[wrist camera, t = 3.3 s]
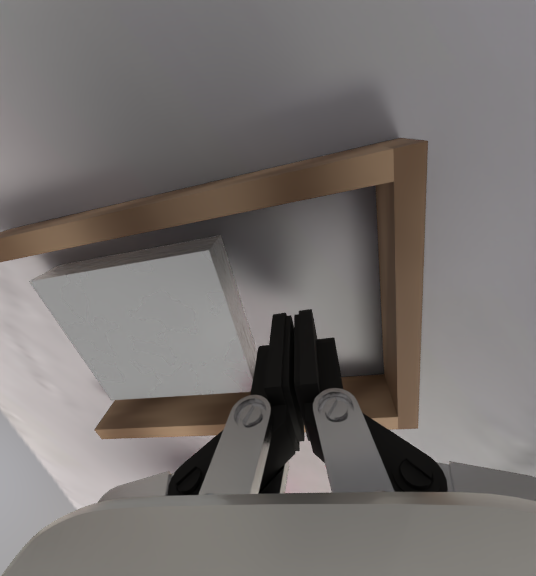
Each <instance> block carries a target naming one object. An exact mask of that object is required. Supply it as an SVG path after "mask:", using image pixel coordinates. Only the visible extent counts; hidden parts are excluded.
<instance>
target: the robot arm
mask: <svg viewBox="0 0 536 576" xmlns="http://www.w3.org/2000/svg"><path fill="white" fill-rule="evenodd" d="M304 426H305V430H306V434H307V438H308V441H310V442H311V446H312V450H313V453H314V454H315V455H316V456H318V457H319V458H320V459H321V460H322V461H323V462H324V463H325V465H326V469H327V474H328V478H329V482H330V486H331V491H332V493H285V488H286V482H287V476H288V470H289V461H288V460H289V459H290V458H291V457H292V456H293V455H294V454H295V451H299V441H304ZM2 576H536V477H533V476H528V475H523V474H517V473H512V472H506V471H501V470H495V469H490V468H484V467H478V466H473V465H467V464H462V463H456V462H451V461H449V465H448V464H442V463H437V462H435V461H434V460H433V459H432V458H431V457H429V456H428V455H426V454H425V453H423V452H422V451H420V450H419V449H417V448H416V447H414V446H413V445H411V444H410V443H408V442H407V441H405V440H404V439H402V438H400V437H399V436H397V435H396V434H394V433H393V432H391V431H390V430H388V429H387V428H385V427H384V426H382V425H381V424H379V423H378V422H376V421H375V420H373V419H371V418H370V417H368V416H367V415H365V414H364V413H362V411H361V409H360V406H359V404H358V401H357V400H356V398H355V397H354V396H353V395H352V394H351V393H350V392H348V391H346V390H344V389H343V384H342V378H341V373H340V367H339V362H338V356H337V350H336V345H335V339H334V338H326V339H317V335H316V330H315V324H314V319H313V313H312V309H310V310H302V311H299V314H298V315H295V318H294V325H293V321H292V317H291V316H287V315H286V313H281V314H274V315H273V319H272V327H271V335H270V343H269V345H266V346H259V348H258V352H257V358H256V364H255V370H254V376H253V382H252V387H251V393H250V395H249V396H246V397H244V398H242V399H241V400H239V401H238V402H237V403H236V404H235V405H234V406H233V408H232V410H231V412H230V414H229V417H228V420H227V422H226V425H225V427H224V430H222V431H221V432H220V433H219V434H218V435H217V436H215V437H214V438H213V439H212V440H211V441H209V442H208V443H207V444H206V445H205V446H204V447H202V448H201V449H200V450H199V451H198V452H197V453H195V454H194V455H193V456H192V457H191V458H189V459H188V460H187V461H186V462H185V463H184V464H182V465H181V466H180V467H179V468H178V469H177V470H176V472H175V473H172V474H171V473H170V472H169V471H168V472H164V473H161V474H157V475H154V476H151V477H147V478H144V479H140V480H137V481H133V482H130V483H127V484H123V485H120V486H117V487H115V488H113V489H111V490H109V491H108V492H107V493H106V494H104V495H103V496H102V498H101V499H100V500H99V501H98V503H95V504H92V505H88V506H86V507H83V508H80V509H78V510H76V511H74V512H71V513H69V514H67V515H65V516H63V517H61V518H59V519H57V520H56V521H54V522H52V523H51V524H49V525H48V526H47V527H45V528H43V529H42V530H41V531H40V532H38V533H37V534H36V535H35V536H33V537H32V539H31V540H30V541H29V542H28V543H27V544H26V545H25V546H24V547H23V548H22V550H21V551H20V552H19V553H18V554H17V555H16V557H15V558H14V559H13V561H12V562H11V563H10V565H9V566H8V567H7V569H6V570H5V571H4V573H3V574H2Z"/></svg>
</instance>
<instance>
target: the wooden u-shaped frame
mask: <svg viewBox="0 0 536 576" xmlns="http://www.w3.org/2000/svg"><path fill="white" fill-rule="evenodd" d="M427 151H428V141H424V140H415V139H405V138H397V139H393V140H389V141H385V142H380V143H376V144H372V145H367V146H363V147H359V148H355V149H350V150H346V151H342V152H338V153H333V154H329V155H325V156H320V157H316V158H312V159H308V160H303V161H299V162H295V163H291V164H286V165H282V166H278V167H273V168H269V169H265V170H261V171H256V172H252V173H248V174H244V175H239V176H235V177H231V178H226V179H222V180H218V181H214V182H209V183H205V184H201V185H197V186H192V187H188V188H184V189H179V190H175V191H171V192H167V193H162V194H158V195H154V196H150V197H145V198H141V199H137V200H132V201H128V202H124V203H120V204H115V205H111V206H107V207H103V208H98V209H94V210H90V211H85V212H81V213H77V214H73V215H68V216H64V217H60V218H56V219H51V220H47V221H43V222H38V223H34V224H30V225H26V226H21V227H17V228H13V229H9V230H6V231H3V232H0V262H3V261H8V260H13V259H18V258H23V257H28V256H33V255H38V254H42V253H47V252H52V251H57V250H62V249H67V248H72V247H77V246H81V245H86V244H91V243H96V242H101V241H106V240H111V239H116V238H121V237H125V236H130V235H135V234H140V233H145V232H150V231H155V230H160V229H164V228H169V227H174V226H179V225H184V224H189V223H194V222H199V221H203V220H208V219H213V218H218V217H223V216H228V215H233V214H238V213H243V212H247V211H252V210H257V209H262V208H267V207H272V206H277V205H282V204H286V203H291V202H296V201H301V200H306V199H311V198H316V197H321V196H326V195H330V194H335V193H340V192H345V191H350V190H355V189H360V188H365V187H369V186H374V185H375V187H376V208H377V230H378V252H379V274H380V296H381V317H382V339H383V361H384V374H380V375H366V376H352V377H341V378H342V384H343V389H344V390H346V391H348V392H350V393H351V394H352V395H353V396H354V397H355V398H356V400H357V401H358V404H359V406H360V409H361V411H362V413H364V414H365V415H367V416H368V417H370V418H371V419H373V420H375V421H376V422H378V423H379V424H381V425H382V426H384V427H385V428H387V429H416V428H418V412H419V383H420V354H421V325H422V296H423V267H424V238H425V209H426V180H427ZM250 393H251V392H239V393H223V394H206V395H190V396H173V397H157V398H140V399H124V400H115V401H114V402H113V404H112V405H111V407H110V408H109V410H108V411H107V412H106V414H105V415H104V417H103V418H102V420H101V421H100V422H99V424H98V425H97V427H96V428H95V431H96V433H97V434H98V435H99V436H100V438H101V439H119V438H149V437H178V436H208V435H218V434H219V433H220V432H221V431H222V430H224V427H225V425H226V422H227V420H228V417H229V414H230V412H231V410H232V408H233V406H234V405H235V404H236V403H237V402H238V401H239V400H241V399H242V398H244V397H246V396H249V395H250ZM304 432H306V430H305V426H304Z"/></svg>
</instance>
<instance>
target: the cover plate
mask: <svg viewBox="0 0 536 576" xmlns="http://www.w3.org/2000/svg"><path fill="white" fill-rule="evenodd" d="M29 282H30V283H31V285H32V286H33V288H34V289H35V291H36V292H37V294H38V295H39V296H40V298H41V299H42V301H43V302H44V304H45V305H46V307H47V308H48V309H49V311H50V312H51V314H52V315H53V317H54V318H55V320H56V321H57V322H58V324H59V325H60V327H61V328H62V330H63V331H64V333H65V334H66V335H67V337H68V338H69V340H70V341H71V343H72V344H73V346H74V347H75V348H76V350H77V351H78V353H79V354H80V356H81V357H82V359H83V360H84V361H85V363H86V364H87V366H88V367H89V369H90V370H91V372H92V373H93V374H94V376H95V377H96V379H97V380H98V382H99V383H100V385H101V386H102V387H103V389H104V390H105V392H106V393H107V395H108V396H109V398H110V399H111V400H124V399H140V398H157V397H173V396H190V395H206V394H223V393H239V392H251V387H252V382H253V376H254V370H255V364H256V358H257V350H256V347H255V344H254V340H253V337H252V334H251V331H250V327H249V324H248V321H247V318H246V315H245V311H244V308H243V305H242V302H241V298H240V295H239V292H238V289H237V285H236V282H235V279H234V276H233V273H232V269H231V266H230V263H229V260H228V256H227V253H226V250H225V247H224V243H223V240H222V237H221V235H219V236H213V237H208V238H202V239H197V240H192V241H186V242H181V243H175V244H170V245H165V246H159V247H154V248H148V249H143V250H138V251H132V252H127V253H121V254H116V255H111V256H105V257H100V258H94V259H89V260H84V261H78V262H73V263H67V264H62V265H58V266H56V267H54V268H53V269H51V270H49V271H47V272H45V273H44V274H42V275H40V276H38V277H36V278H35V279H33V280H31V281H29Z"/></svg>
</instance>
